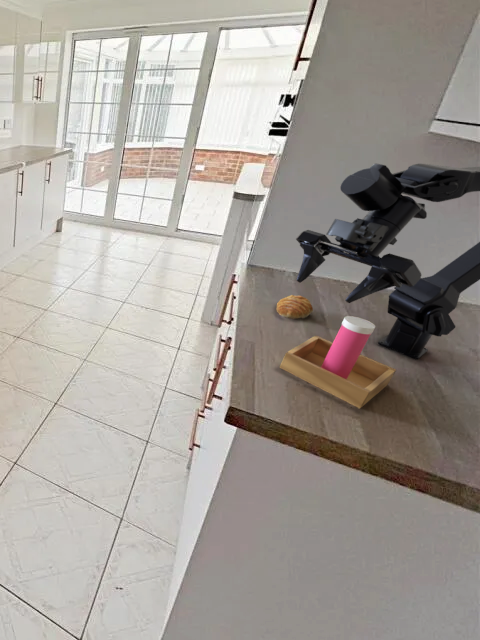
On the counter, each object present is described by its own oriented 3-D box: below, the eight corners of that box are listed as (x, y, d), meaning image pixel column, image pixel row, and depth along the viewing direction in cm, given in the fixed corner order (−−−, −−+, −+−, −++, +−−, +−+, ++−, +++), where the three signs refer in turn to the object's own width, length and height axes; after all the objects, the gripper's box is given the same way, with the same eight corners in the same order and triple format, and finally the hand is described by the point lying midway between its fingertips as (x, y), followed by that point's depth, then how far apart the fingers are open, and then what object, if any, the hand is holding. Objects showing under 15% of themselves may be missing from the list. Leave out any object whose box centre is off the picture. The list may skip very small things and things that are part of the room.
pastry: (300, 326, 95) (306, 311, 94) (267, 314, 100) (273, 300, 99) (312, 313, 101) (318, 300, 99) (280, 303, 106) (285, 290, 104)
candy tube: (324, 366, 80) (350, 313, 75) (350, 378, 77) (379, 324, 72) (314, 373, 78) (340, 319, 73) (340, 385, 75) (370, 330, 70)
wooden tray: (307, 352, 86) (315, 335, 84) (385, 388, 76) (396, 369, 74) (277, 370, 80) (285, 352, 78) (358, 412, 70) (369, 392, 68)
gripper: (312, 191, 81) (258, 255, 84) (431, 216, 65) (359, 294, 68) (334, 219, 86) (282, 279, 89) (450, 249, 70) (382, 320, 73)
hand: (321, 291), depth 79 cm, fingers open, 9 cm apart
